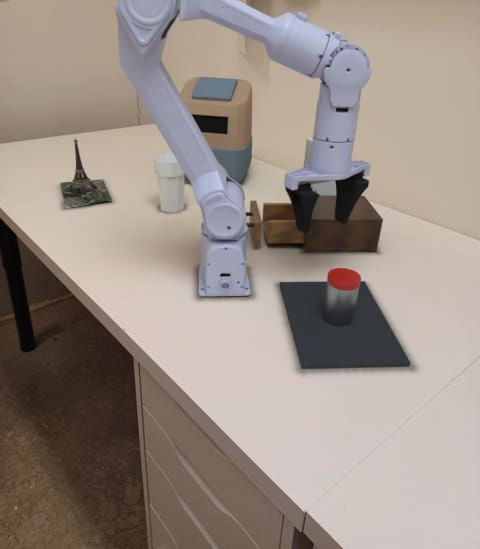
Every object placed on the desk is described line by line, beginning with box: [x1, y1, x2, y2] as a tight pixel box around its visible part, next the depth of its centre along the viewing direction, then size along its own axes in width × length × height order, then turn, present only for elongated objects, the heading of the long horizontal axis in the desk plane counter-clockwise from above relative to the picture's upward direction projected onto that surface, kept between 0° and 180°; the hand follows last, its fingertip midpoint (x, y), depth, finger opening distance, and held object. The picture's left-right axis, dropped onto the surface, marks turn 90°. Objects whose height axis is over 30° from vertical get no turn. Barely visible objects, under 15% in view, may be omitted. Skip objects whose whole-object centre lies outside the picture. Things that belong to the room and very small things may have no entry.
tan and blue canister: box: [179, 76, 253, 184], centre depth 115 cm, size 17×17×23 cm
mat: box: [279, 280, 411, 370], centre depth 68 cm, size 20×14×1 cm
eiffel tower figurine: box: [60, 138, 113, 209], centre depth 105 cm, size 15×10×13 cm
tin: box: [322, 267, 362, 326], centre depth 67 cm, size 4×4×7 cm
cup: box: [152, 152, 185, 213], centre depth 100 cm, size 7×7×11 cm
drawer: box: [245, 200, 305, 247], centre depth 90 cm, size 17×10×5 cm, turn 94°
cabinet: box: [300, 195, 384, 253], centre depth 91 cm, size 14×12×7 cm
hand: (322, 226), depth 73 cm, fingers open, 7 cm apart
